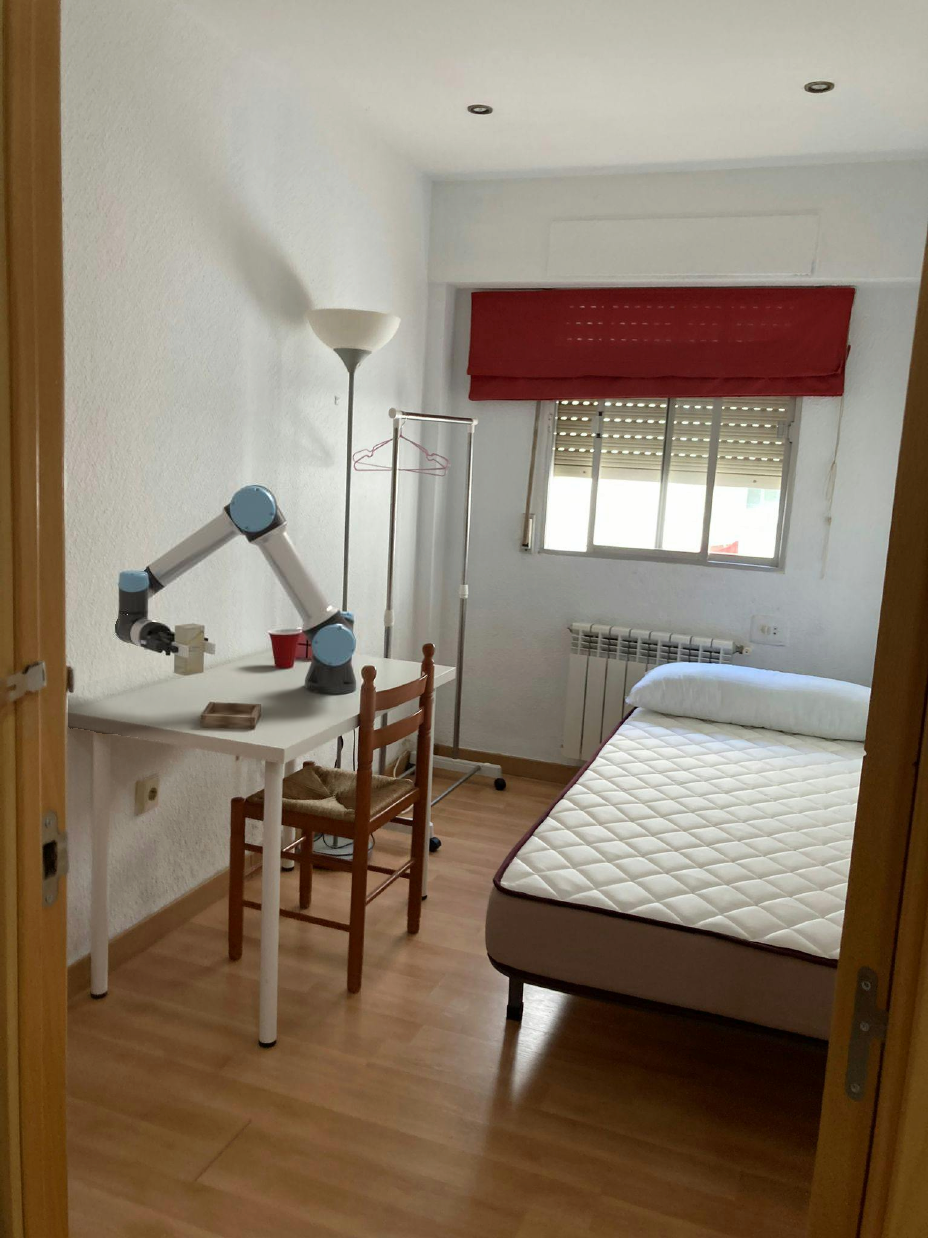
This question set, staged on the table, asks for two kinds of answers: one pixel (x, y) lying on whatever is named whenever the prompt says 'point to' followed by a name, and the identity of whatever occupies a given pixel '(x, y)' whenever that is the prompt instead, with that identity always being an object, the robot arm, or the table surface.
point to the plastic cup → (284, 646)
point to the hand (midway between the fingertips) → (200, 650)
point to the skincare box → (190, 649)
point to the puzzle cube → (303, 647)
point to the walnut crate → (230, 715)
